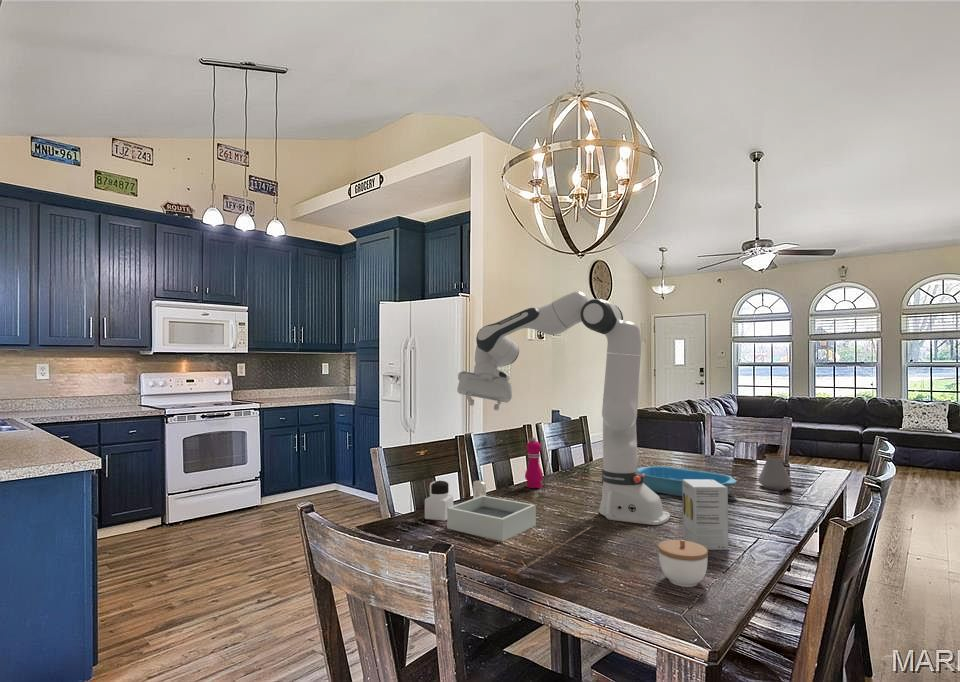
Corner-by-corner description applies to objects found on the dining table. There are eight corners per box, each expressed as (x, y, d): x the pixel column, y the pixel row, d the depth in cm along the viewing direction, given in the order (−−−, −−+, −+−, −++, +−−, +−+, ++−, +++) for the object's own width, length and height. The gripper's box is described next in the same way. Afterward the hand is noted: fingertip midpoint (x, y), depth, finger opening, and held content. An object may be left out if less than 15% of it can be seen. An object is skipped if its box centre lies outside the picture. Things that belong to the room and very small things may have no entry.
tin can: (488, 507, 184) (488, 481, 184) (481, 510, 180) (481, 483, 180) (478, 505, 186) (478, 479, 187) (470, 508, 183) (470, 482, 183)
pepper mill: (542, 489, 209) (541, 438, 210) (524, 488, 210) (523, 438, 211) (543, 485, 216) (543, 436, 217) (526, 484, 217) (525, 435, 218)
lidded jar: (657, 570, 128) (657, 530, 129) (705, 575, 125) (704, 534, 126) (659, 588, 118) (658, 545, 119) (711, 594, 115) (710, 550, 115)
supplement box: (682, 538, 151) (681, 478, 152) (714, 538, 151) (713, 478, 152) (694, 550, 142) (693, 486, 142) (729, 550, 141) (728, 486, 142)
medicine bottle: (453, 517, 173) (453, 480, 173) (445, 523, 166) (445, 485, 166) (433, 515, 175) (433, 478, 175) (424, 521, 168) (424, 483, 169)
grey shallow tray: (529, 525, 161) (529, 515, 161) (501, 539, 148) (501, 528, 149) (483, 515, 171) (483, 506, 171) (454, 527, 158) (454, 517, 159)
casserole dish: (742, 493, 203) (742, 474, 203) (729, 506, 185) (728, 485, 185) (647, 480, 225) (646, 463, 225) (627, 491, 207) (626, 472, 207)
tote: (536, 528, 161) (535, 505, 161) (503, 545, 146) (502, 519, 147) (482, 517, 173) (482, 495, 173) (447, 531, 158) (447, 508, 158)
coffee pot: (788, 493, 201) (787, 453, 202) (755, 488, 209) (754, 450, 210) (799, 483, 218) (798, 446, 218) (768, 479, 225) (767, 443, 226)
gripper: (460, 365, 195) (458, 397, 187) (513, 376, 199) (513, 407, 190) (456, 374, 200) (453, 406, 191) (508, 385, 204) (507, 416, 195)
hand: (483, 407), depth 191 cm, fingers open, 8 cm apart
